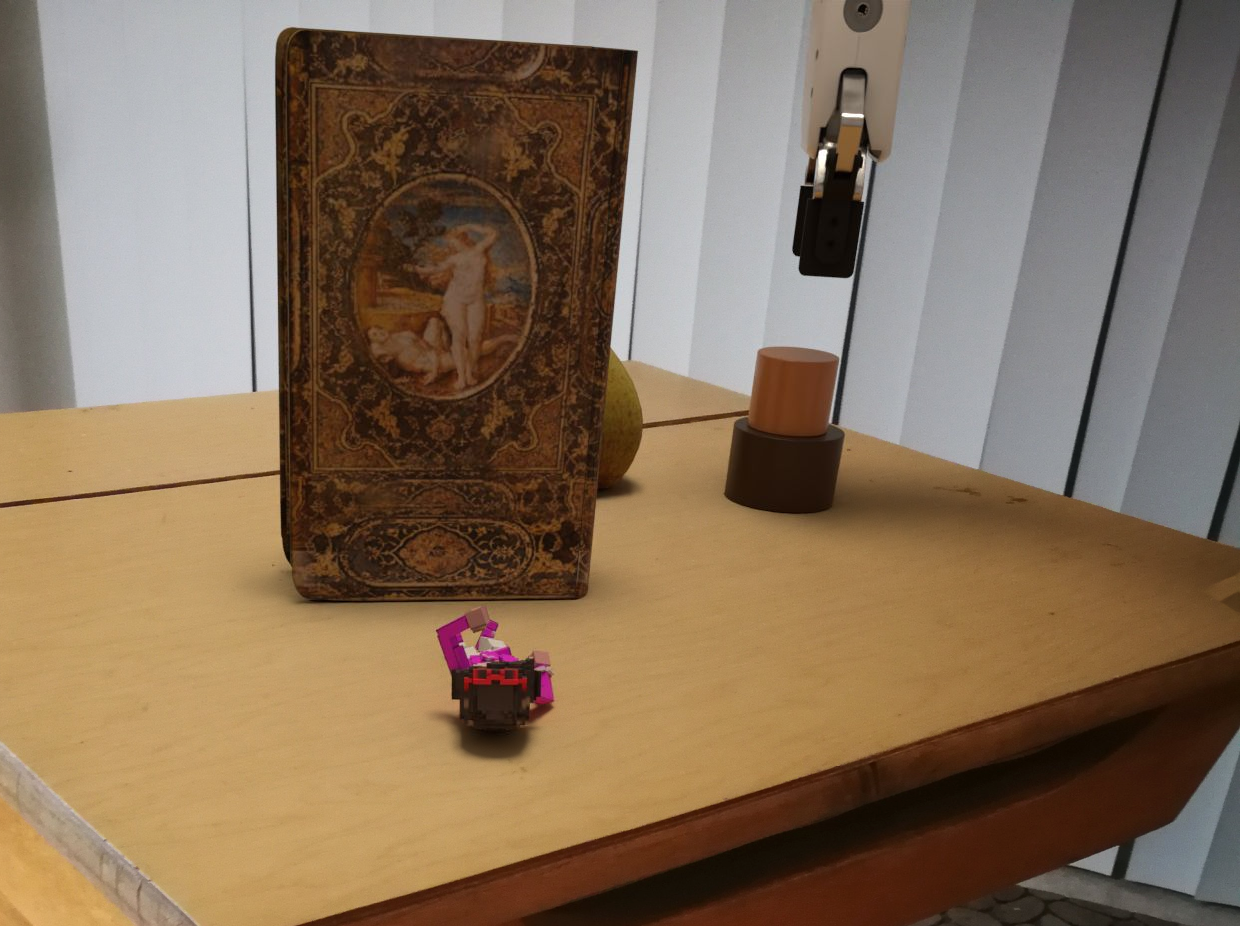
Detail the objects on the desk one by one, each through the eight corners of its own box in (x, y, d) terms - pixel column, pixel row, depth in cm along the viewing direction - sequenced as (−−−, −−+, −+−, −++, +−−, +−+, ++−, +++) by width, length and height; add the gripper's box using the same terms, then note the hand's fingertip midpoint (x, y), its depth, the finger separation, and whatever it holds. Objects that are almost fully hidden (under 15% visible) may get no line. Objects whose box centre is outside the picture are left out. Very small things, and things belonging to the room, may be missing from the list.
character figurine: (415, 675, 73) (442, 748, 63) (420, 567, 71) (449, 623, 60) (531, 679, 74) (578, 752, 64) (540, 573, 72) (590, 629, 61)
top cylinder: (825, 422, 101) (837, 350, 99) (829, 439, 97) (842, 364, 95) (746, 415, 102) (756, 343, 99) (747, 432, 97) (758, 357, 95)
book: (572, 567, 86) (617, 47, 73) (598, 598, 82) (651, 51, 68) (281, 569, 83) (271, 25, 69) (291, 602, 78) (283, 27, 65)
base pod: (829, 489, 105) (841, 420, 102) (835, 517, 99) (848, 445, 96) (724, 479, 105) (733, 411, 103) (724, 506, 99) (734, 435, 97)
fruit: (661, 486, 103) (683, 292, 96) (573, 507, 97) (590, 302, 90) (565, 459, 107) (579, 272, 101) (475, 478, 102) (485, 281, 95)
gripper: (957, -80, 77) (895, 288, 86) (920, -60, 92) (870, 253, 101) (807, -87, 78) (762, 280, 87) (794, -66, 93) (756, 247, 102)
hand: (820, 265), depth 94 cm, fingers open, 9 cm apart
